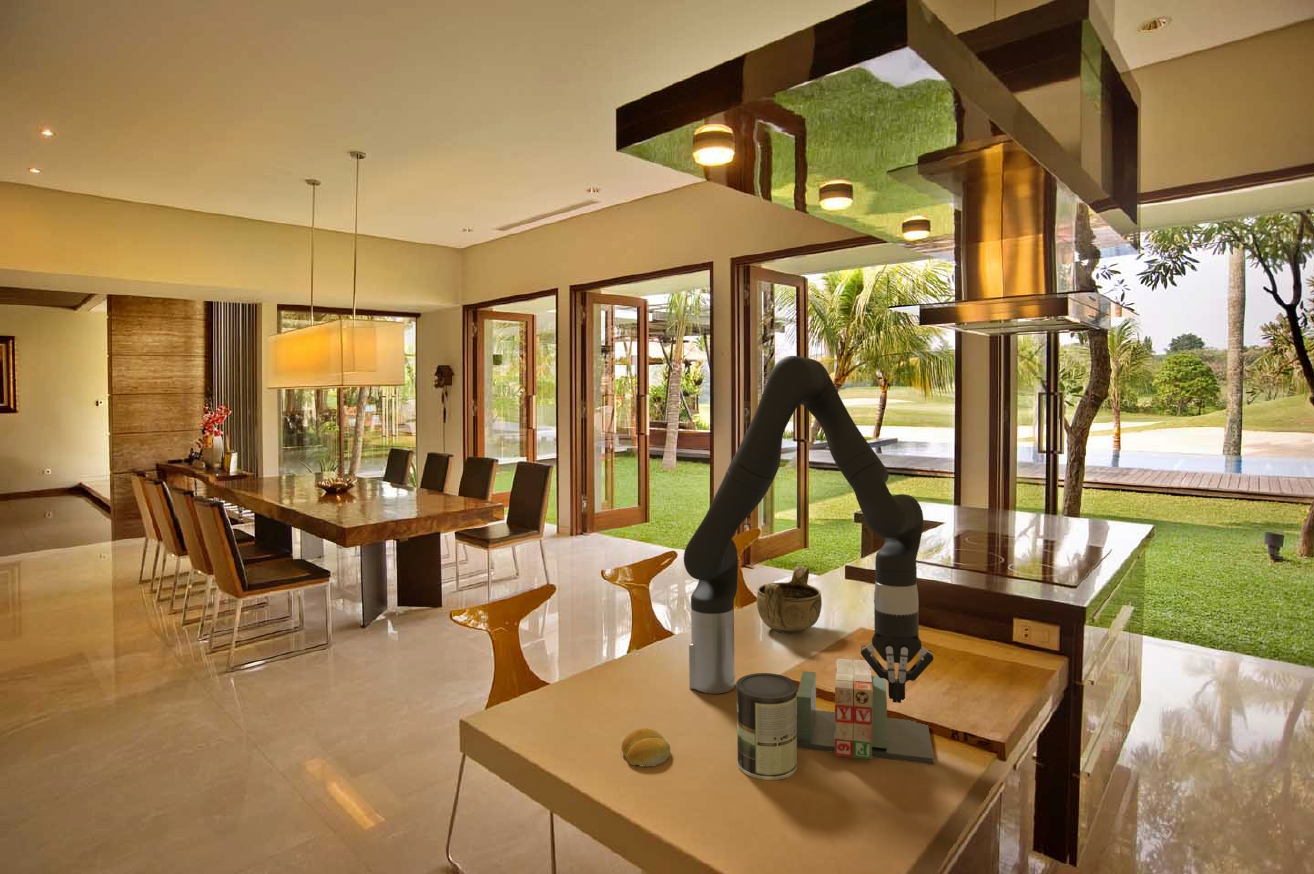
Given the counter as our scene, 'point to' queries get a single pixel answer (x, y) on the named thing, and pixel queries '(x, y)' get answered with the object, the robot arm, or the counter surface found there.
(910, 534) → the robot arm
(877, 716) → the sliding jaw
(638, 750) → the bread roll
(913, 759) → the vise
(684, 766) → the counter surface
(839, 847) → the counter surface
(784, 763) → the coffee can
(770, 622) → the ceramic bowl
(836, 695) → the stack of blocks
